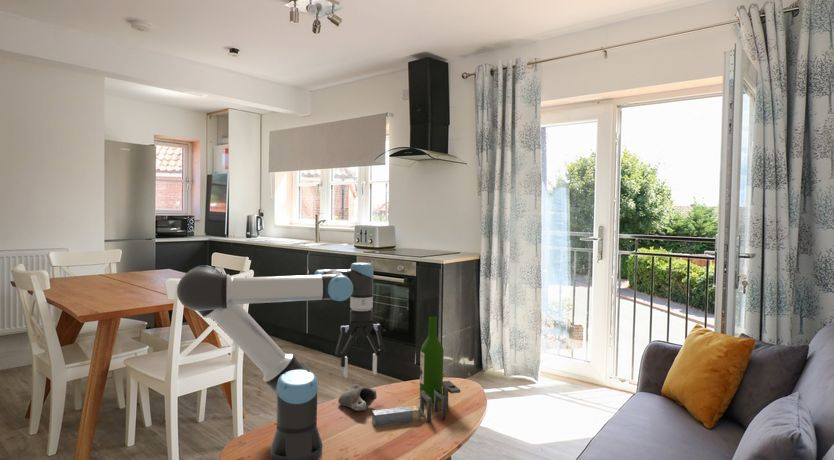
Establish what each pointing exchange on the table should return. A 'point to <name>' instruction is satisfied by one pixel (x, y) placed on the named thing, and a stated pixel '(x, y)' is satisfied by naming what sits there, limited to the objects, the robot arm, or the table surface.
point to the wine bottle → (431, 362)
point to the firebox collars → (446, 387)
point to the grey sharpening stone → (396, 415)
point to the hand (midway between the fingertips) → (360, 374)
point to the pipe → (358, 397)
